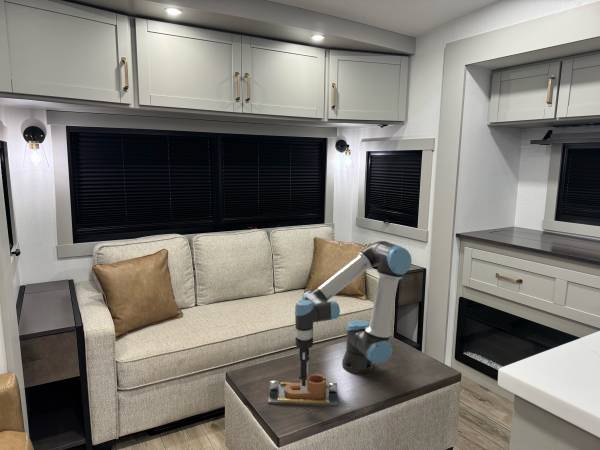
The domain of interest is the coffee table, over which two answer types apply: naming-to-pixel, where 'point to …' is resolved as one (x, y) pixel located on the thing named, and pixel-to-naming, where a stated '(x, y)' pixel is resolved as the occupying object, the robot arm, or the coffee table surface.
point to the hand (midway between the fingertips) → (304, 382)
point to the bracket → (314, 388)
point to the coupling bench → (279, 398)
